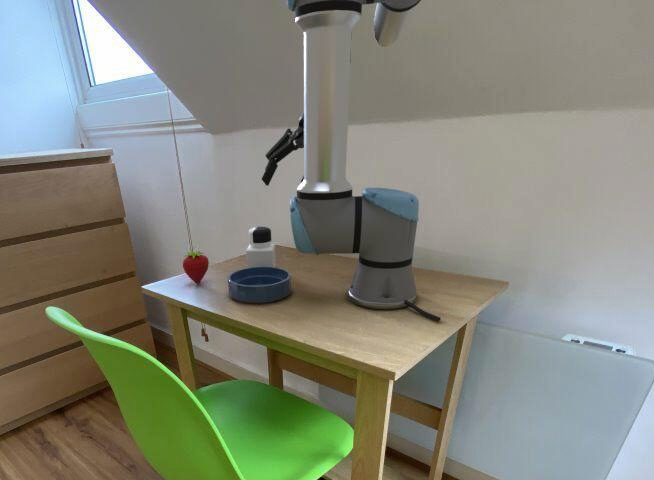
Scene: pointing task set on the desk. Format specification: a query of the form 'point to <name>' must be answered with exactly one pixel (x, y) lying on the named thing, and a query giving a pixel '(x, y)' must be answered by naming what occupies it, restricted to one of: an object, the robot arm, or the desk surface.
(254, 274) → the bowl
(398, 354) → the desk surface
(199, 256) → the strawberry
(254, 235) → the medicine bottle
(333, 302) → the desk surface
